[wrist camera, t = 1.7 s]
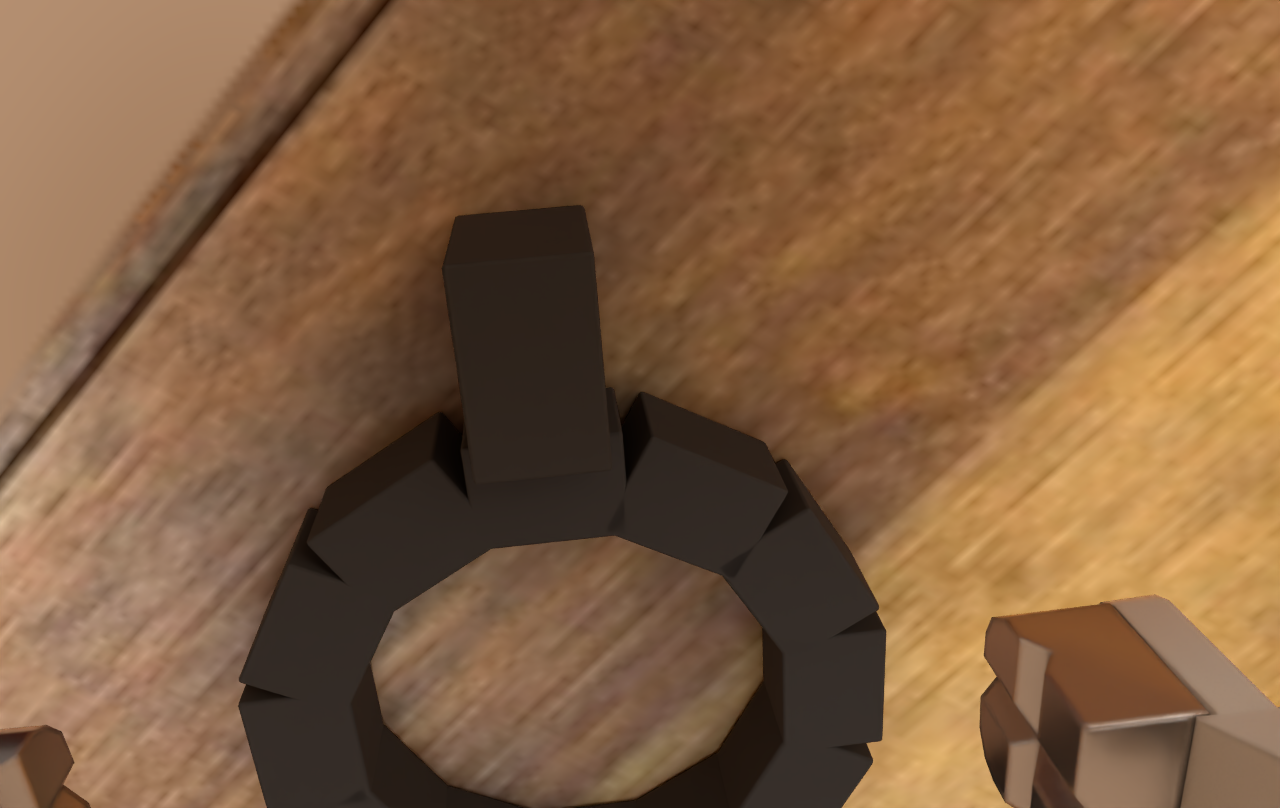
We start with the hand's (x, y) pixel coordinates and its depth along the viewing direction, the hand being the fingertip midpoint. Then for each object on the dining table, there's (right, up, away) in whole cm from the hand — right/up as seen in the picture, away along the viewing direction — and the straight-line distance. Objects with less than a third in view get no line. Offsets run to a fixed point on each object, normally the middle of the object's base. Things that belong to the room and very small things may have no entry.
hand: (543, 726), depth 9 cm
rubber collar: (-1, -1, +12) cm, 12 cm away
